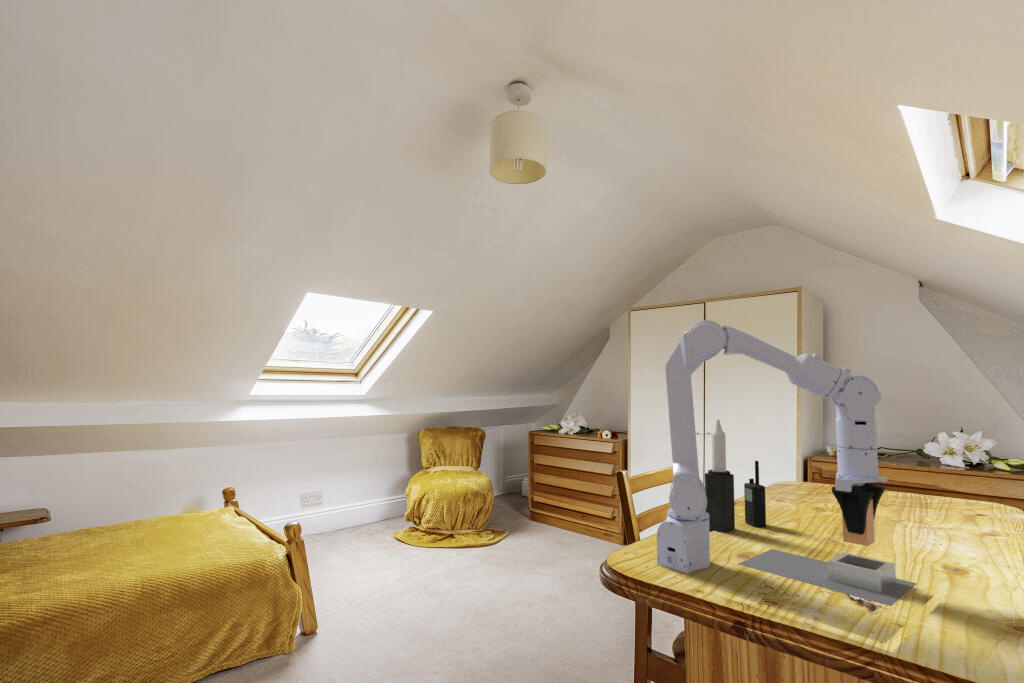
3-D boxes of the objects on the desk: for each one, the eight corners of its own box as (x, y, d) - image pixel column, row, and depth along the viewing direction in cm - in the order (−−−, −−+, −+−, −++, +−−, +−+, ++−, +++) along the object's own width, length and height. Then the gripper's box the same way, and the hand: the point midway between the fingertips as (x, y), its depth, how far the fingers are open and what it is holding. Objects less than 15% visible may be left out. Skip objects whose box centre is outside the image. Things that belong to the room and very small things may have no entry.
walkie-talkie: (743, 522, 127) (742, 458, 129) (757, 522, 128) (755, 458, 129) (755, 527, 123) (753, 461, 124) (769, 527, 123) (767, 461, 124)
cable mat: (890, 611, 77) (890, 605, 77) (737, 568, 95) (737, 563, 95) (916, 588, 86) (916, 583, 86) (772, 553, 104) (772, 548, 104)
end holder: (881, 593, 82) (880, 573, 82) (827, 579, 88) (827, 560, 88) (895, 582, 87) (895, 563, 87) (844, 569, 92) (843, 552, 93)
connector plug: (867, 546, 85) (865, 491, 86) (843, 541, 88) (841, 488, 89) (874, 542, 88) (872, 489, 88) (850, 537, 90) (848, 485, 91)
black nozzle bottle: (725, 536, 115) (722, 420, 117) (703, 531, 119) (701, 418, 121) (736, 532, 118) (734, 419, 120) (715, 527, 122) (713, 418, 124)
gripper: (870, 453, 81) (874, 544, 80) (897, 447, 91) (901, 528, 89) (819, 448, 87) (822, 534, 85) (851, 443, 96) (854, 520, 95)
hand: (859, 530), depth 88 cm, fingers closed on connector plug, 3 cm apart
